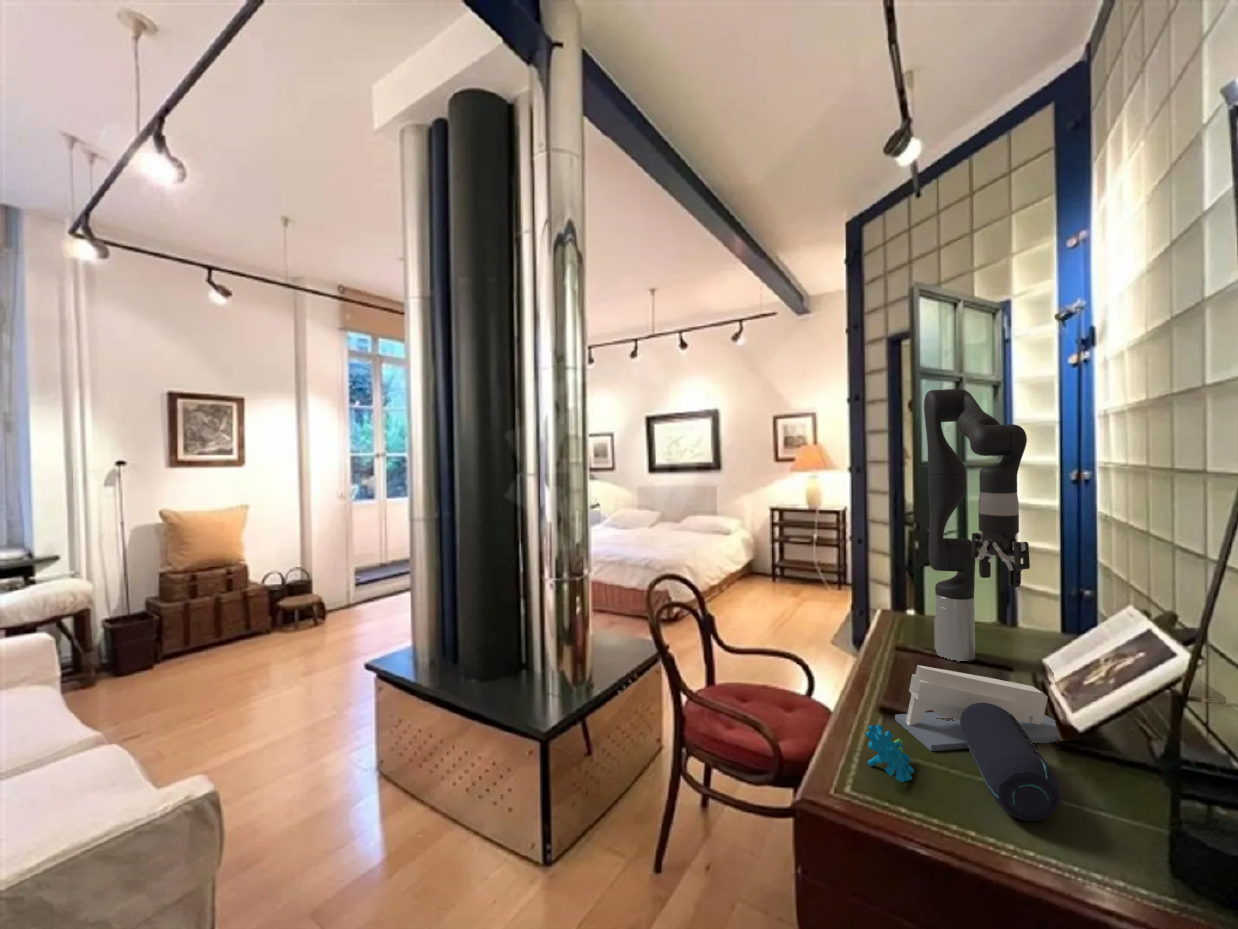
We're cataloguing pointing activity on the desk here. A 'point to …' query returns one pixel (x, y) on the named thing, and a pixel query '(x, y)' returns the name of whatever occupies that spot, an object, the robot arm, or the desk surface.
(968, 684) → the shelf bracket
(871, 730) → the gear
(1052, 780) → the portable speaker
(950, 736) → the plate
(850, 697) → the desk surface
